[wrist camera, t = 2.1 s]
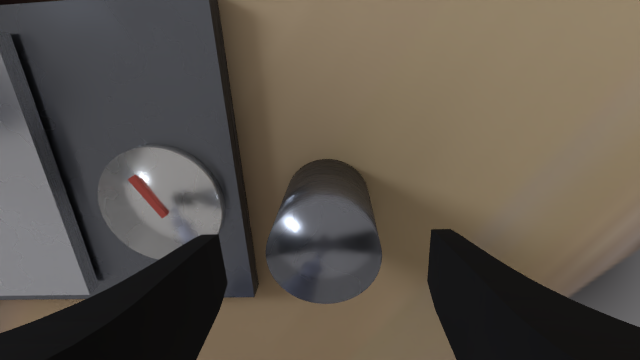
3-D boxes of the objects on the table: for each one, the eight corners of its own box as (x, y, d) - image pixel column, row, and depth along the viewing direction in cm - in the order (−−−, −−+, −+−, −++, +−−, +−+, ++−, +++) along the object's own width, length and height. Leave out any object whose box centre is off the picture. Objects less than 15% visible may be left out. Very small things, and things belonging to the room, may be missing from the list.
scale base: (258, 284, 18) (250, 308, 16) (-77, 288, 19) (-117, 311, 18) (216, -6, 13) (198, -15, 11) (-230, 26, 14) (-306, 22, 13)
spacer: (368, 233, 17) (381, 303, 12) (290, 235, 17) (272, 303, 12) (368, 157, 15) (382, 202, 10) (283, 160, 15) (259, 206, 11)
